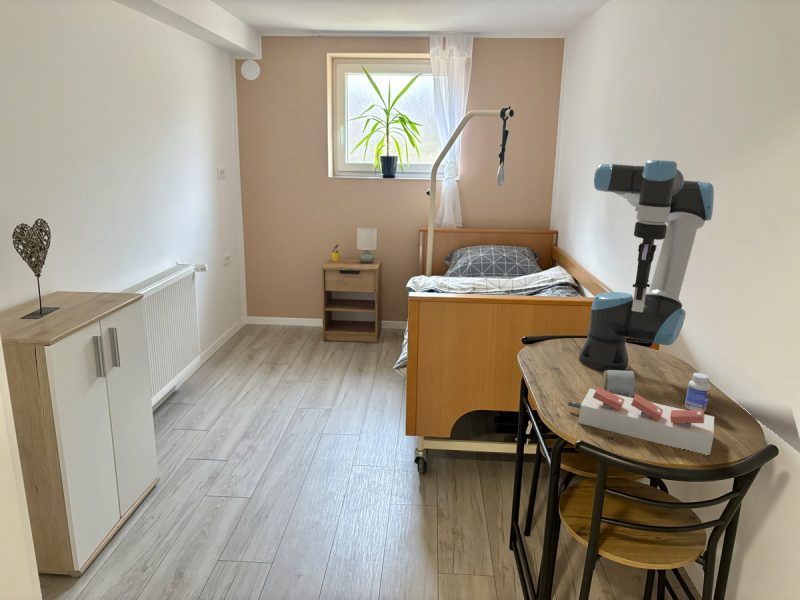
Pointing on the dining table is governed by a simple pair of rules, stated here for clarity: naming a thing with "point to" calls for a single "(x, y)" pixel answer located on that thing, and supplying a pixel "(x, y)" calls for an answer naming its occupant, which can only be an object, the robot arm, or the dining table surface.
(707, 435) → the switch panel
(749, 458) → the dining table surface
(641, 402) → the block
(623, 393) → the ceramic mug
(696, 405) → the pill bottle
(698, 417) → the block
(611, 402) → the block
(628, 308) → the robot arm
